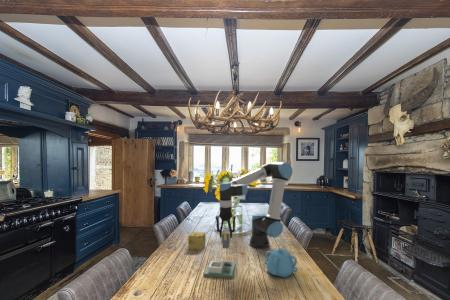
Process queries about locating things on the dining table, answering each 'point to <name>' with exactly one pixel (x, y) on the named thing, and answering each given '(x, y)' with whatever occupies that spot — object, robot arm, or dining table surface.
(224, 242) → the plug
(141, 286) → the dining table surface
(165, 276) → the dining table surface
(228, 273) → the header board
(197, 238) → the cheese
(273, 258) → the decorative pot
